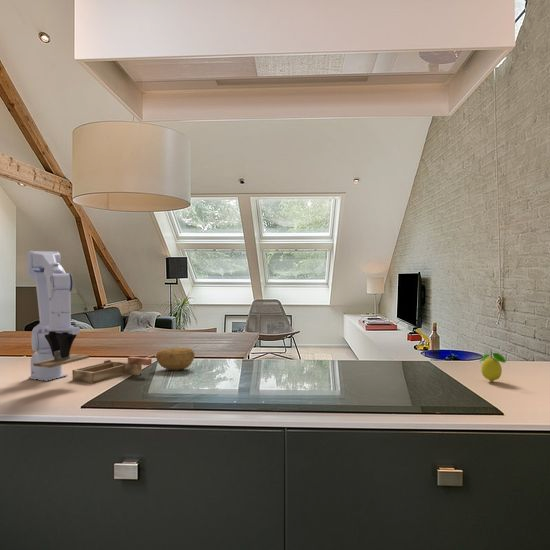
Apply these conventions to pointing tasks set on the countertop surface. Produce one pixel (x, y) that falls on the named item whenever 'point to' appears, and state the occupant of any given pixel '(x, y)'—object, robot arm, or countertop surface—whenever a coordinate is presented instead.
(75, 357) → the lid
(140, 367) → the toolbox
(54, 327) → the robot arm
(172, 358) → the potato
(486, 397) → the countertop surface
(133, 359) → the wooden bar
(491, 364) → the lemon
